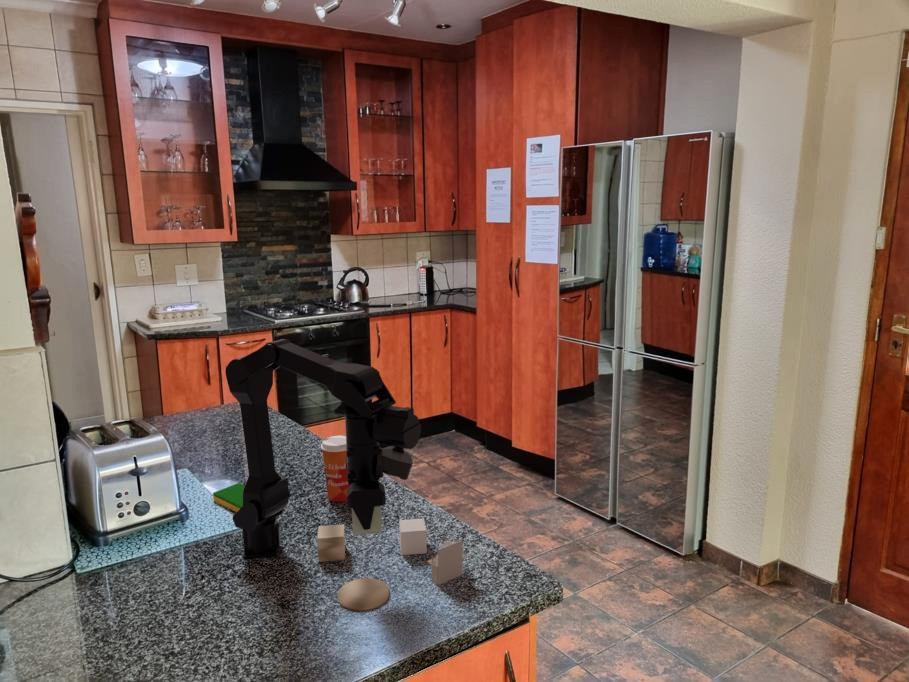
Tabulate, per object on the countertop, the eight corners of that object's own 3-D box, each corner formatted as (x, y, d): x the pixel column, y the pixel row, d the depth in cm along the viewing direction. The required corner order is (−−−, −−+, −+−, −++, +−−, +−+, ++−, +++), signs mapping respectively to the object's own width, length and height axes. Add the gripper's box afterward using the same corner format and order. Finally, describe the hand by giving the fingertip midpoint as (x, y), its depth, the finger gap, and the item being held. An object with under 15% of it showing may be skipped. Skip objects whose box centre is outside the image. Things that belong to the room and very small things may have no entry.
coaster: (337, 612, 110) (336, 610, 110) (338, 583, 119) (338, 580, 119) (390, 608, 112) (390, 605, 112) (388, 578, 120) (387, 576, 120)
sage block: (353, 535, 115) (351, 509, 114) (352, 522, 119) (351, 496, 118) (381, 532, 115) (380, 506, 114) (379, 519, 120) (379, 494, 119)
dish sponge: (247, 519, 144) (247, 509, 144) (213, 502, 153) (212, 492, 152) (274, 507, 150) (274, 498, 149) (239, 491, 158) (238, 482, 158)
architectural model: (426, 579, 121) (426, 542, 120) (456, 566, 125) (456, 531, 124) (437, 587, 118) (437, 550, 117) (467, 574, 123) (467, 538, 121)
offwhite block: (401, 555, 129) (400, 532, 128) (399, 542, 133) (399, 520, 132) (426, 553, 129) (426, 530, 128) (424, 541, 134) (423, 518, 133)
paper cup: (316, 500, 152) (313, 443, 149) (334, 487, 159) (332, 433, 156) (345, 506, 149) (343, 448, 147) (362, 492, 156) (360, 437, 154)
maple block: (318, 562, 126) (317, 538, 125) (319, 549, 131) (318, 526, 130) (344, 560, 127) (343, 536, 126) (345, 547, 132) (344, 524, 131)
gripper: (414, 455, 106) (417, 543, 110) (403, 419, 124) (405, 496, 128) (345, 460, 105) (349, 550, 108) (344, 423, 123) (347, 501, 126)
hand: (366, 522), depth 117 cm, fingers closed on sage block, 5 cm apart
